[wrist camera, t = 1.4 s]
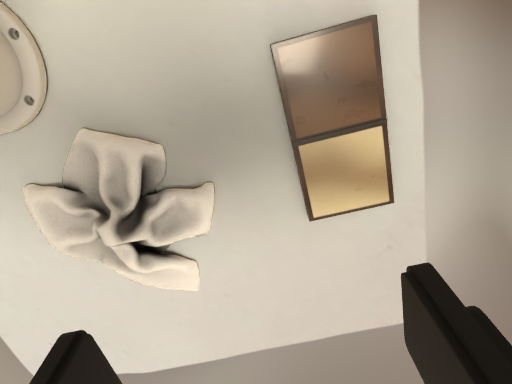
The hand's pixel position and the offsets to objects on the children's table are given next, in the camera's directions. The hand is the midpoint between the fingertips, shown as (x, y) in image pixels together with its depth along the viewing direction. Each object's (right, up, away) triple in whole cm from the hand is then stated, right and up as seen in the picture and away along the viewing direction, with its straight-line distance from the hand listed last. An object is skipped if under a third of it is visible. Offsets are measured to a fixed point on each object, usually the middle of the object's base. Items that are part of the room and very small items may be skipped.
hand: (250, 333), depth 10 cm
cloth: (-13, +1, +27) cm, 30 cm away
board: (+8, +10, +23) cm, 26 cm away
